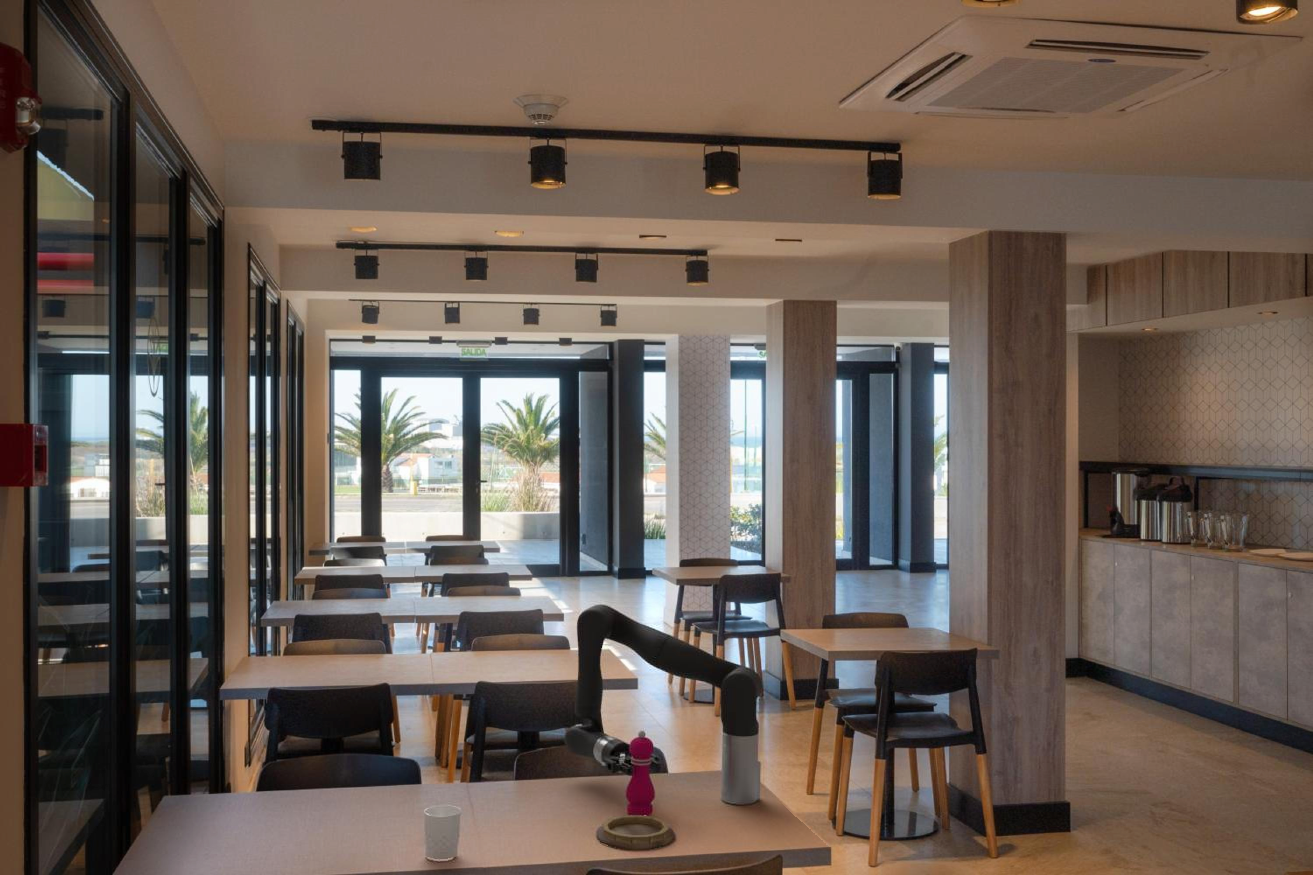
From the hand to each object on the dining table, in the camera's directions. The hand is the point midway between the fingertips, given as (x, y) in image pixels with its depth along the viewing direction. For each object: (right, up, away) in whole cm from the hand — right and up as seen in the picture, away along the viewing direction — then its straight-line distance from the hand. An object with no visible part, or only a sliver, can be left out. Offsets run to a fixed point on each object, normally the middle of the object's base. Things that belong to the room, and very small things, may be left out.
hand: (645, 769), depth 286 cm
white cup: (-44, -10, -31) cm, 55 cm away
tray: (-2, -11, -16) cm, 19 cm away
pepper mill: (-1, -11, +2) cm, 11 cm away
